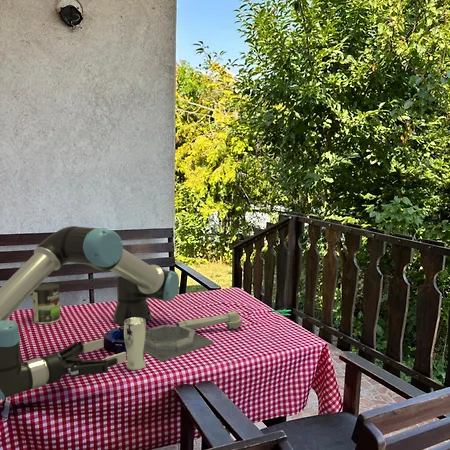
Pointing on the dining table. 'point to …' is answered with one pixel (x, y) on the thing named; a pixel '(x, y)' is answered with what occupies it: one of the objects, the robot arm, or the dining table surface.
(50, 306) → the coffee can
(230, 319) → the beige knobbed rod
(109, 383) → the dining table surface
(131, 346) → the chrome metal cup
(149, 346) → the collar
